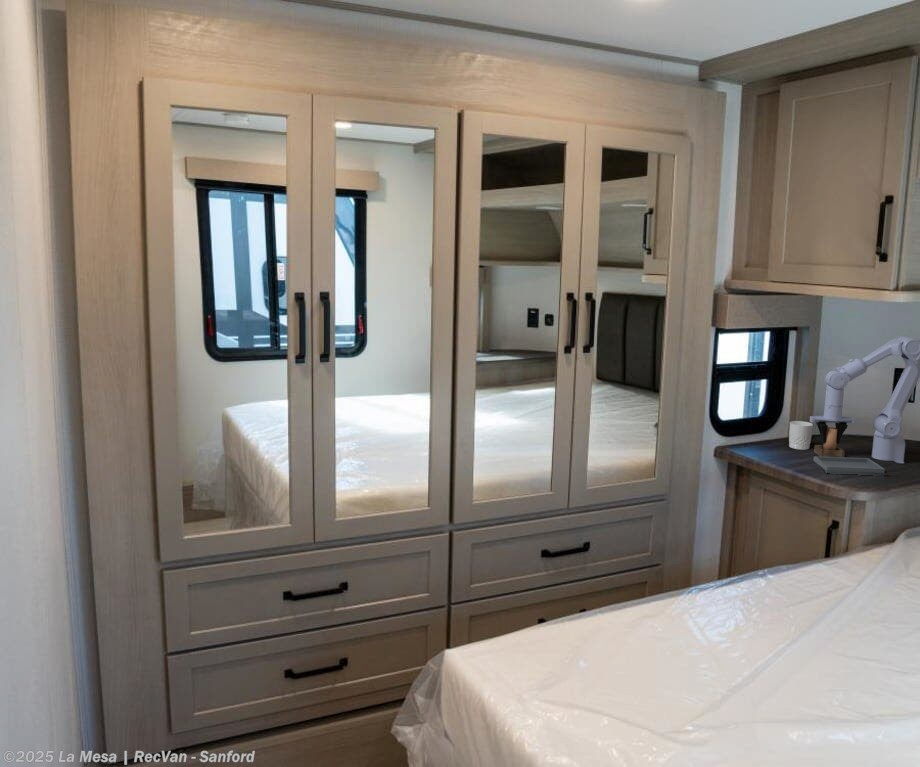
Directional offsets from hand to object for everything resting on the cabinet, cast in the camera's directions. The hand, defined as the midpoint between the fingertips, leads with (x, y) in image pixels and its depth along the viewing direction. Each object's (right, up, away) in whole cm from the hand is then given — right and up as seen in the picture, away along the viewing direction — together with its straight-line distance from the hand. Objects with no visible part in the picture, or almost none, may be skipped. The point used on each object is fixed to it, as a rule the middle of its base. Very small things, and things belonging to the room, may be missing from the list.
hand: (830, 442), depth 271 cm
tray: (-1, -8, -14) cm, 16 cm away
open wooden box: (0, -5, +1) cm, 6 cm away
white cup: (-6, -4, +12) cm, 13 cm away
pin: (0, -4, +1) cm, 4 cm away
